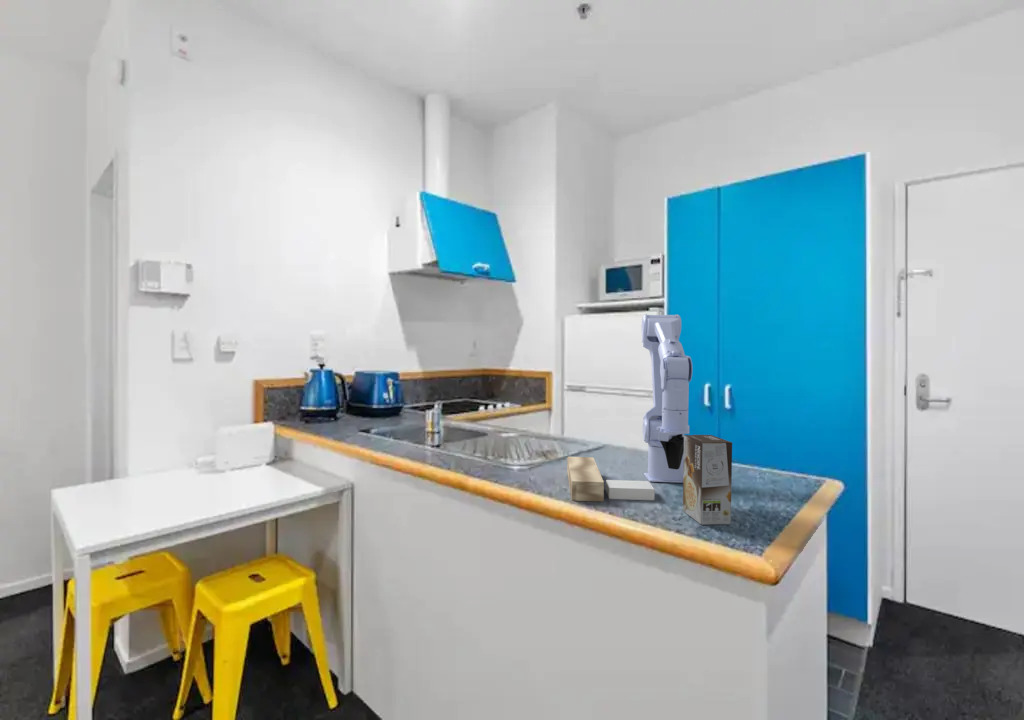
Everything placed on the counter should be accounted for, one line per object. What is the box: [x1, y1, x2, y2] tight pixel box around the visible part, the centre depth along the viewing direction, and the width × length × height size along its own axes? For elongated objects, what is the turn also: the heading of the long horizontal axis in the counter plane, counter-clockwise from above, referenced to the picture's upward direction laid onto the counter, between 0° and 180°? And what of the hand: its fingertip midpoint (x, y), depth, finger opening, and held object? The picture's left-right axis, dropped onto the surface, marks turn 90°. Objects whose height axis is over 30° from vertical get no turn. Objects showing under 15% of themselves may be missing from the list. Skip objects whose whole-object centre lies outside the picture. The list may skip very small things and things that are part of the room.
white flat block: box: [605, 479, 656, 501], centre depth 117 cm, size 10×7×2 cm
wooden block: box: [566, 456, 605, 503], centre depth 125 cm, size 7×26×4 cm, turn 176°
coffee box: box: [682, 434, 733, 526], centre depth 102 cm, size 9×6×16 cm
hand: (673, 468), depth 116 cm, fingers closed
